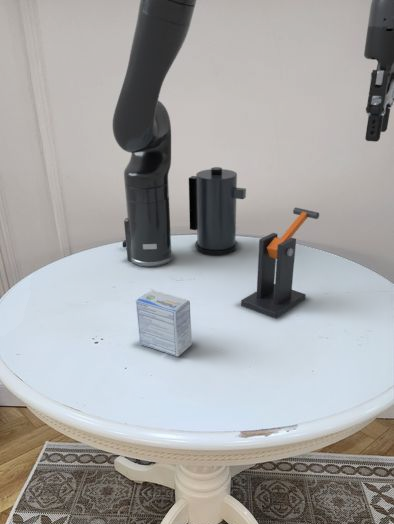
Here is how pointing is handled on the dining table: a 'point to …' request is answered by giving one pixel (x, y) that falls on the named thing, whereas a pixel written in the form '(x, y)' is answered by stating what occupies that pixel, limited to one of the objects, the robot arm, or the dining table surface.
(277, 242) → the switch lever
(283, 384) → the dining table surface
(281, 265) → the base
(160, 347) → the medicine box
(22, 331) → the dining table surface
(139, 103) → the robot arm
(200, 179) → the kettle
